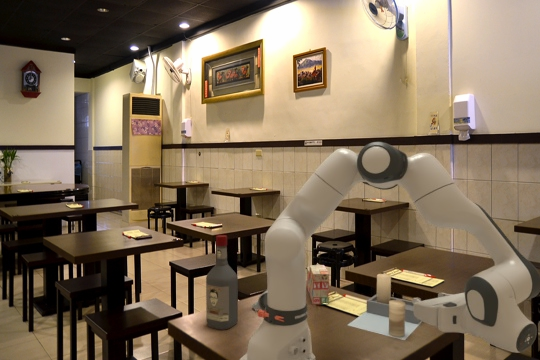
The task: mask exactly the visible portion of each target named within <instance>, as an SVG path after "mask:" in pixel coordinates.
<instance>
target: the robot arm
mask: <svg viewBox="0 0 540 360" xmlns="http://www.w3.org/2000/svg"><path fill="white" fill-rule="evenodd" d="M359 183H363V184H365V185H368V186H370V187H372V188H375V189H378V190H382V191H383V190H387V191H388V190H391V189H394V188H396V187H398V186H400V187H402V188H404V191H406V192H407V194H408V195H409V197H410V199H411V201H412V202H413V205H414V207H415V208H416V210H417V212H418V213H419V215H420V217H422V219H423V220H424V221H425V222H426V223H428V224H429V225H430V226H433V227H437V228H441V229H449V230H451V229H454V230H455V229H456V230H462V231H464V232H468V233H470V234H471V235H473V236H474V237H475V238H476V239H477V241H478V242H479V243H480V245H481V246H482V247H483V249H484V250H485V251H486V253H487V254H488V255H489V257H490V258H491V259H492V260H493V262H494V265H493V266H490V267H489V268H487V269H485V270H482V271H480V272H478V273H476V274H474V275H472V276H470V277H468V279H467V280H466V282H465V284H464V290H463V291H464V292H461V293H460V292H459V293H456V294H451V293H445V292H439V293H437V297H434V298H429V299H425V300H422V298H420V297H418V296H417V297H413V298H412V301H413V304H414V306H413V312H414V316H415V317H416V318H418V319H420V320H421V321H422V322H424V323H425V324H428V325H430V326H433V327H438V330H439V331H441V332H442V333H460V334H465V335H466V334H468V335H471V336H472V337H476V338H480V339H482V340H483V341H484V342H486V343H488V344H490V345H492V346H495V347H497V348H499V349H502V350H504V351H508V352H510V353H511V352H512V353H516V354H517V353H523V352H525V351H526V350H528V349H529V348H531V347H532V345H533V344H534V342H535V340H536V338H537V333H538V328H537V325H536V324H535V323H534V322H533V321H532V320H530V319H528V318H527V316H526V315H525V314H524V313H523V311H522V310H521V309H520V307H519V306H518V305H519V304H521V303H523V302H525V301H528V300H532V299H533V298H535V297H538V295H539V294H540V273H539V271H538V269H537V268H536V267H535V266H534V264H533V263H532V262H530V261H529V260H528V258H526V257H525V256H524V255H522V253H521V252H520V251H519V250H518V249H517V247H516V246H515V244H513V243H512V241H510V239H509V238H508V237H507V235H506V234H505V233H504V231H502V229H501V228H500V227H499V225H498V224H497V223H496V222H495V220H494V219H493V218H492V217H491V216H490V215H489V213H488V212H487V211H486V210H485V209H484V208H483V207H482V206H480V205H479V204H478V203H477V202H473V201H472V200H470V199H469V198H468V197H467V196H466V195H465V194H464V193H463V192H462V191H461V189H460V188H459V187H458V186H457V184H456V182H455V181H454V179H453V177H452V176H451V175H450V173H449V172H448V170H447V169H446V168H445V167H444V165H443V164H442V163H441V162H440V161H439V159H437V157H435V156H434V155H433V154H432V153H429V152H420V153H419V152H418V153H416V154H413V155H411V156H409V157H408V156H407V154H406V153H405V152H403V151H402V150H400V149H399V148H396V147H395V146H393V145H391V144H389V143H387V142H383V141H373V142H370V143H367V144H365V145H364V146H363V147H362V149H360V151H359V153H356V152H355V151H353V150H352V149H349V148H344V147H341V148H337V149H335V150H334V151H333V152H332V153H331V154H330V155H328V156H327V158H325V159H324V161H322V162H321V163H320V165H318V167H317V168H316V169H315V170H314V172H313V173H312V174H311V175H310V177H309V178H308V179H307V180H306V182H304V184H303V185H302V187H301V188H300V189H299V190H298V192H297V193H296V194H295V195H294V196H293V198H292V199H291V200H290V202H289V203H288V204H287V206H286V207H285V208H284V209H283V210H282V212H281V213H280V214H279V216H278V217H277V218H276V219H275V220H274V222H273V223H272V225H270V227H269V228H268V230H267V231H266V233H265V236H264V255H265V267H266V268H265V269H266V275H267V276H266V277H267V278H266V279H267V283H266V284H267V289H266V290H267V304H266V307H265V311H263V310H261V309H260V308H259V310H258V312H257V316H258V318H262V321H261V323H260V324H259V325H258V327H257V329H256V330H255V332H254V333H253V334H252V336H251V338H250V339H249V341H248V344H247V351H246V353H244V355H243V356H242V357H240V358H239V360H316V356H315V354H314V353H313V347H312V346H313V344H312V334H311V333H312V332H311V329H310V326H309V323H308V321H307V318H308V313H309V311H308V310H309V309H308V304H307V266H306V244H307V242H308V241H309V239H310V238H311V236H313V234H314V233H315V232H316V231H317V230H318V229H319V228H320V227H321V225H323V223H325V221H327V219H329V218H330V216H331V215H332V214H333V213H334V211H335V210H336V209H337V208H338V206H339V205H340V204H341V203H342V202H343V200H344V199H345V197H347V195H348V194H349V193H350V191H351V190H352V189H353V188H354V187H355V186H357V184H359Z"/></svg>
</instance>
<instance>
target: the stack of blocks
mask: <svg viewBox="0 0 540 360" xmlns="http://www.w3.org/2000/svg"><path fill="white" fill-rule="evenodd" d="M306 289H307V291H308V295H309V297H310V300H311V304H312V305H322V304H321V303H328V304H330V303H329V299H330V298H329V292H330V291H329V289H330V273H329V271H328V269H327V267H326V266H325V265H324V264H314V265H313V264H310V265H309V266H306Z"/></svg>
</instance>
